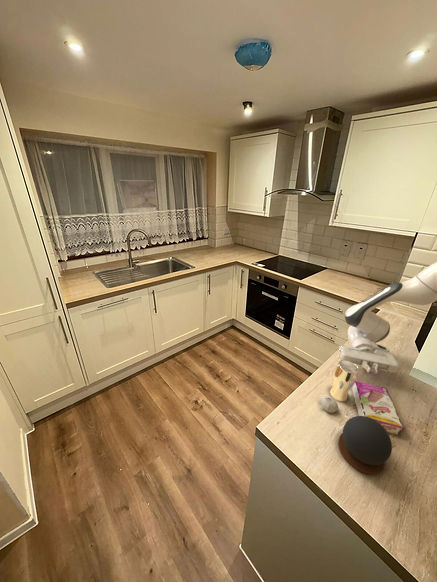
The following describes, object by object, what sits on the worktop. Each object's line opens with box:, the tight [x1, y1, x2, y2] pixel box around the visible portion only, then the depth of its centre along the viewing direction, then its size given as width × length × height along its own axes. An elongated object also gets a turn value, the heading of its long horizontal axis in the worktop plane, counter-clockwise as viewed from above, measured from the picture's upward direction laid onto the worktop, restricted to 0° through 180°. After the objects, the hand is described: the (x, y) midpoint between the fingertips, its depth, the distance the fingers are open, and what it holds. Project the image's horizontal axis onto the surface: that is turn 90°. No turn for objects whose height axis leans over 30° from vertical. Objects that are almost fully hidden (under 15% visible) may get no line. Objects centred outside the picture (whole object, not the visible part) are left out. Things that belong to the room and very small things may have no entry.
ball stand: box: [337, 415, 393, 476], centre depth 68 cm, size 12×12×13 cm
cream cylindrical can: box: [329, 359, 360, 402], centre depth 86 cm, size 7×7×15 cm
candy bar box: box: [351, 380, 403, 436], centre depth 83 cm, size 11×5×16 cm
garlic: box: [320, 395, 339, 414], centre depth 83 cm, size 6×5×5 cm
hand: (372, 372), depth 89 cm, fingers closed
